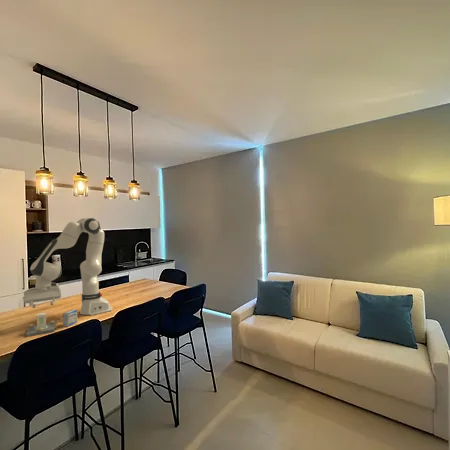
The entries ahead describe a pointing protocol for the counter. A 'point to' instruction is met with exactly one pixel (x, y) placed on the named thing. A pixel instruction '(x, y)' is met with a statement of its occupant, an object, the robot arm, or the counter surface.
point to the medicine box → (69, 318)
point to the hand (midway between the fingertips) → (42, 306)
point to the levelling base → (35, 332)
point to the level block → (41, 320)
